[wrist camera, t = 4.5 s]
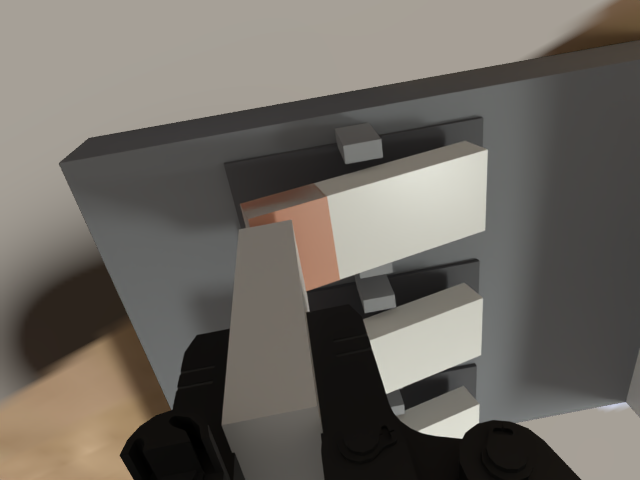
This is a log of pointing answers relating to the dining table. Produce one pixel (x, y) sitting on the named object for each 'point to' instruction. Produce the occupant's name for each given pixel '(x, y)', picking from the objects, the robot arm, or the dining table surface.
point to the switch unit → (422, 268)
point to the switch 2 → (426, 335)
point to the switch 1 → (380, 211)
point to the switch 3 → (444, 414)
